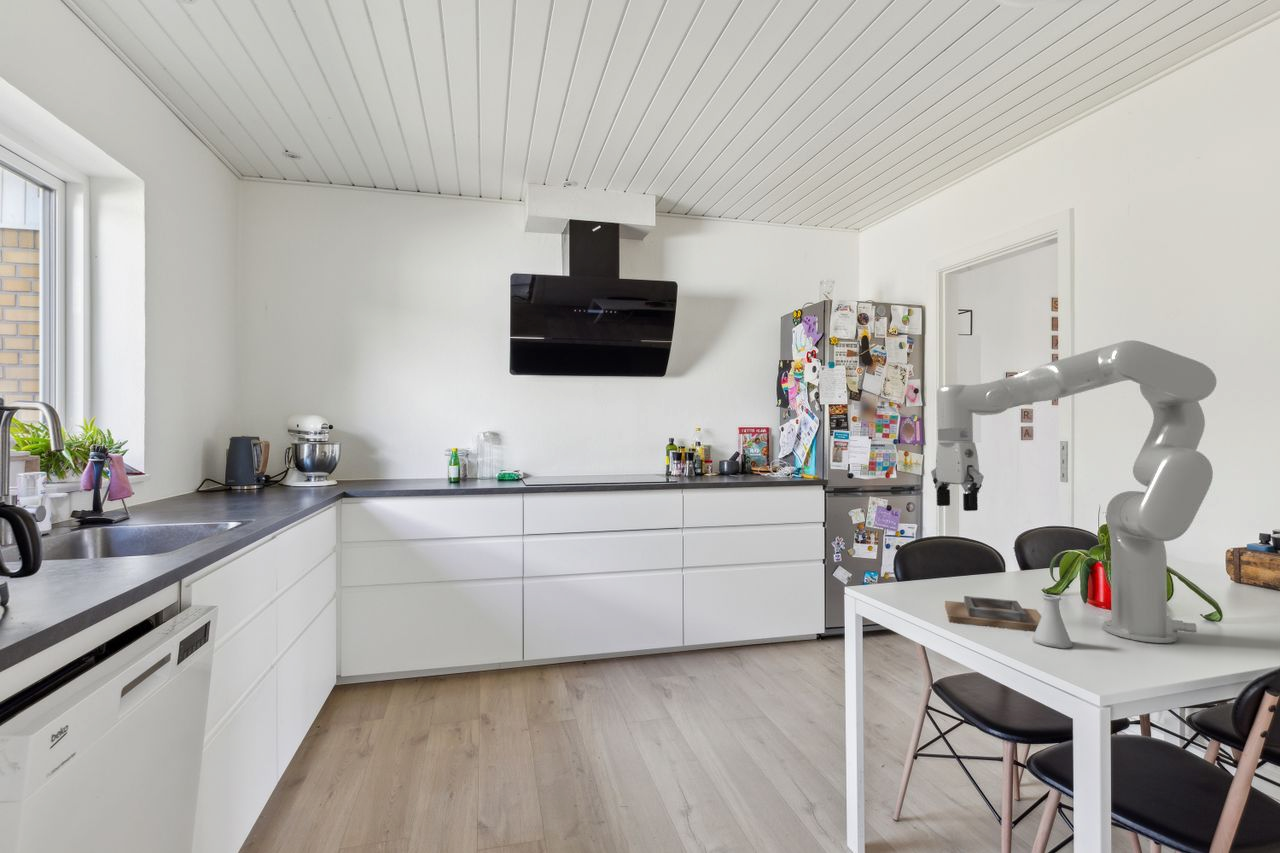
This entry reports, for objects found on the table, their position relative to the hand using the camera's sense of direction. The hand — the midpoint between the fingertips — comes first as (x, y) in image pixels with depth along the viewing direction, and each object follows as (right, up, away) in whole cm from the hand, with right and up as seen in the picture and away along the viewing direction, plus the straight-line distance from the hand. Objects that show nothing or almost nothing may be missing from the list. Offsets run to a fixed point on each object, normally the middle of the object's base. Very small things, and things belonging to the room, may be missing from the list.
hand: (956, 508), depth 143 cm
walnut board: (+9, -27, +1) cm, 28 cm away
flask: (+12, -27, -15) cm, 33 cm away
